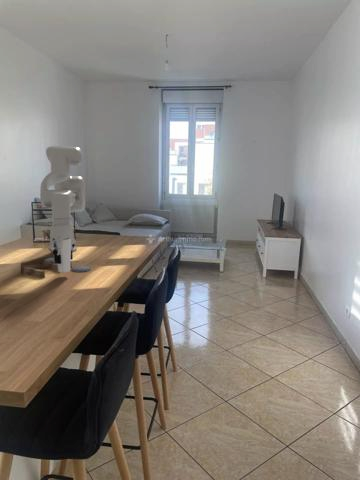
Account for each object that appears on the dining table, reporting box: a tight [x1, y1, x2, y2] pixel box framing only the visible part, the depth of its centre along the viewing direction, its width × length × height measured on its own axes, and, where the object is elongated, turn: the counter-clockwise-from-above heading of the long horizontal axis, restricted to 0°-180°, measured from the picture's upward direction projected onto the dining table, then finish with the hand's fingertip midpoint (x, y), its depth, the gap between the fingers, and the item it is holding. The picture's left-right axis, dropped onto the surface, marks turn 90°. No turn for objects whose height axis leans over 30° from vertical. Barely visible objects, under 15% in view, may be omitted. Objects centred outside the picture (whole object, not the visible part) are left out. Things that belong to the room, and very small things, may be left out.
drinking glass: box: [56, 238, 72, 273], centre depth 155 cm, size 7×7×15 cm
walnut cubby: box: [20, 253, 73, 279], centre depth 164 cm, size 13×18×5 cm
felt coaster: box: [70, 265, 92, 273], centre depth 168 cm, size 9×9×1 cm
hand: (63, 260), depth 156 cm, fingers closed on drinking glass, 6 cm apart
